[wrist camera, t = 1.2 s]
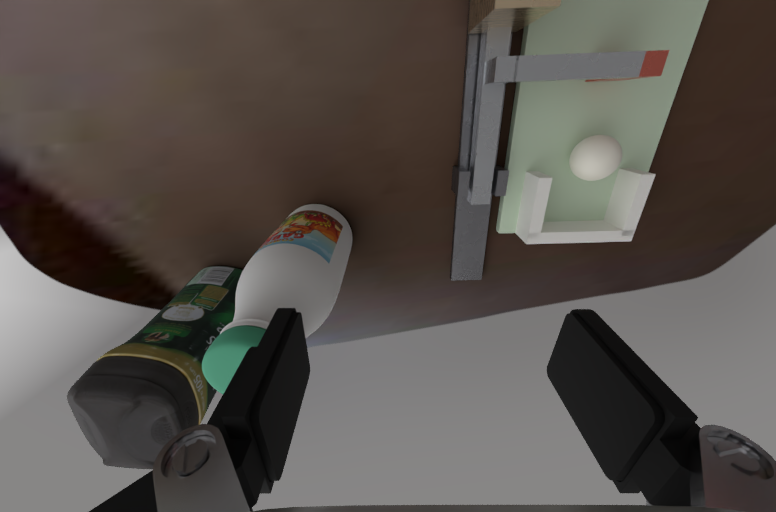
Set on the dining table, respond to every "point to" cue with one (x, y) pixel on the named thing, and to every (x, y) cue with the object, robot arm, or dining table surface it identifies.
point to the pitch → (594, 99)
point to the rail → (469, 217)
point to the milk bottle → (283, 285)
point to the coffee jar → (156, 375)
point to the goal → (613, 228)
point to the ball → (595, 157)
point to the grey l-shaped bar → (529, 74)
